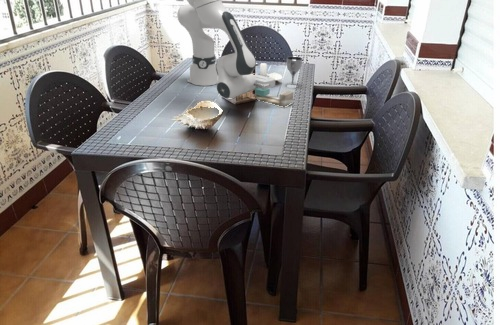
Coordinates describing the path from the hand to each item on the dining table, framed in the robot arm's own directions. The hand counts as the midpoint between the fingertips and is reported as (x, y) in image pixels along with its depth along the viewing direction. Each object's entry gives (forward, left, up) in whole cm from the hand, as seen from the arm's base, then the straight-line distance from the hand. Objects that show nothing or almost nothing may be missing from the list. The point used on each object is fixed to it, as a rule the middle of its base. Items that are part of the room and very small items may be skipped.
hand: (264, 76), depth 191 cm
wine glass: (-22, +16, -11) cm, 29 cm away
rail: (+3, +3, -11) cm, 12 cm away
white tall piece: (+1, -1, -8) cm, 8 cm away
